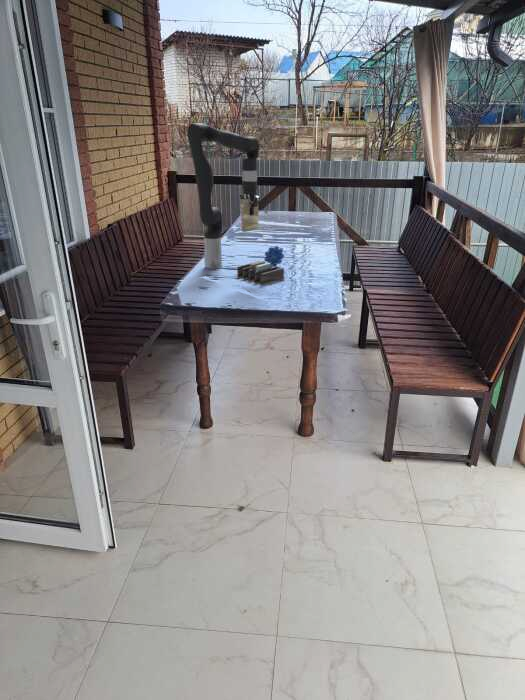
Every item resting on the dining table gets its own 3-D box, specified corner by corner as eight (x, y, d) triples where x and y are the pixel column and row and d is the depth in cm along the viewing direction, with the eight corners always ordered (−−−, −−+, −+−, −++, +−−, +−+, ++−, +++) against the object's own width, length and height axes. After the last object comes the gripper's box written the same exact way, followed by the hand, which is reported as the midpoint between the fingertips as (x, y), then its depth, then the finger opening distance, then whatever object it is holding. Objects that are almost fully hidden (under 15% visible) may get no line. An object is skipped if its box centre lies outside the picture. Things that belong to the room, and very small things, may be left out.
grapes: (285, 265, 283) (286, 244, 278) (283, 268, 278) (283, 247, 272) (266, 263, 286) (266, 243, 281) (263, 266, 280) (263, 246, 275)
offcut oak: (250, 277, 258) (249, 264, 255) (262, 273, 263) (262, 260, 260) (252, 277, 257) (252, 264, 254) (265, 274, 262) (265, 261, 259)
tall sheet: (241, 231, 254) (241, 199, 247) (255, 228, 260) (255, 197, 253) (244, 231, 253) (243, 200, 246) (258, 229, 259) (258, 198, 252)
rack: (234, 278, 261) (233, 266, 258) (259, 271, 272) (258, 260, 269) (262, 287, 246) (262, 275, 244) (287, 280, 258) (287, 268, 255)
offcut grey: (255, 278, 255) (255, 265, 252) (268, 275, 261) (268, 262, 257) (258, 279, 254) (258, 266, 251) (270, 276, 259) (270, 263, 256)
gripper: (235, 179, 248) (235, 214, 255) (253, 181, 239) (253, 217, 246) (246, 178, 252) (246, 212, 260) (264, 180, 243) (264, 215, 251)
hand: (250, 214), depth 253 cm, fingers closed on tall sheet, 2 cm apart
